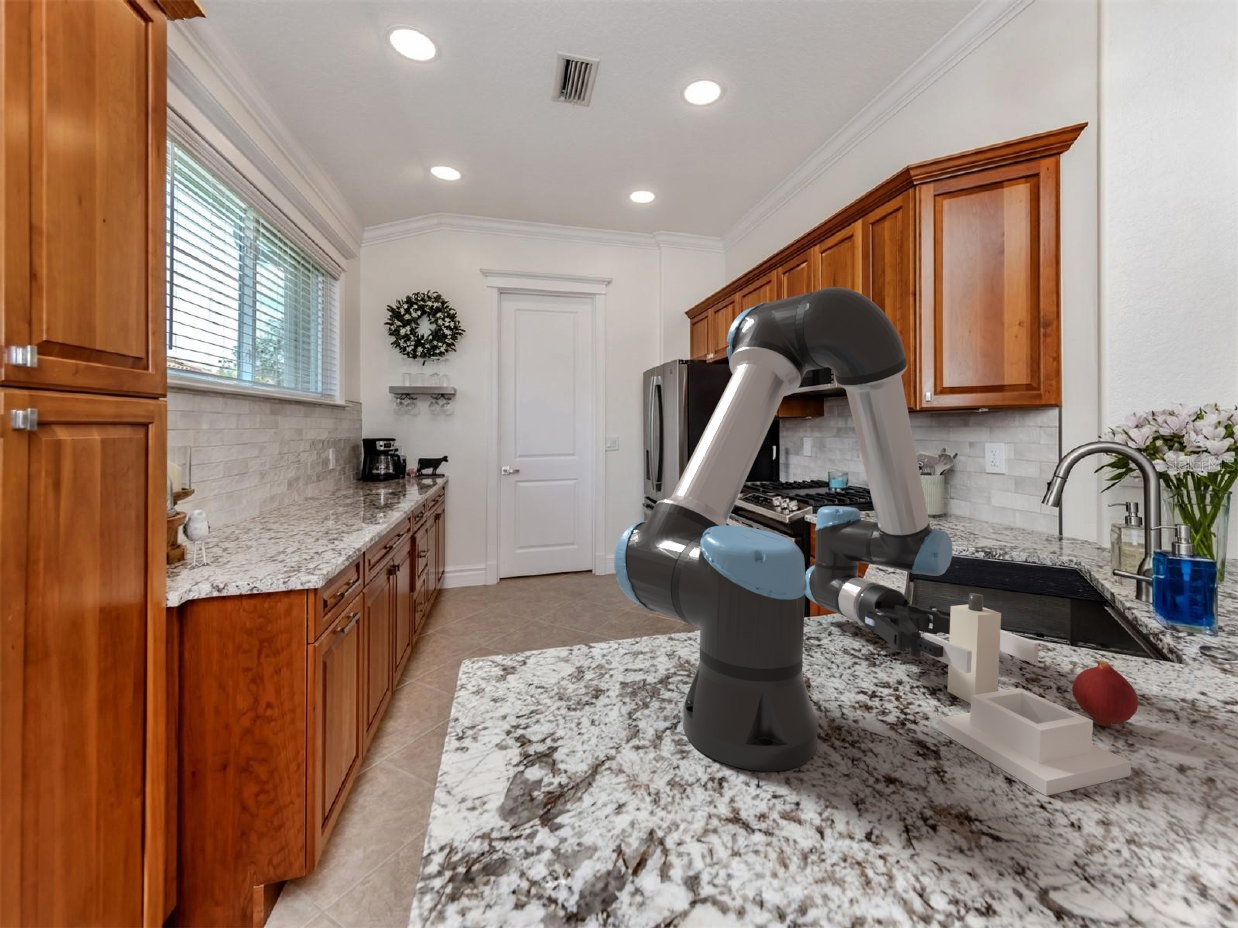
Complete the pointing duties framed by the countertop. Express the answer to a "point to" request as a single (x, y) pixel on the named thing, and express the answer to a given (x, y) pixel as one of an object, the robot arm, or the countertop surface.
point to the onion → (1105, 694)
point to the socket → (1034, 741)
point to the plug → (975, 648)
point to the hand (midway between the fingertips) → (1003, 657)
